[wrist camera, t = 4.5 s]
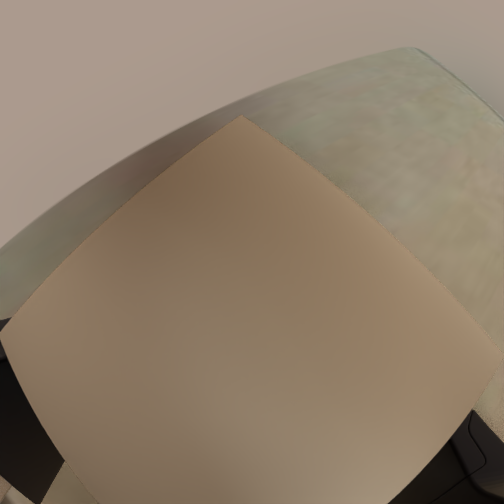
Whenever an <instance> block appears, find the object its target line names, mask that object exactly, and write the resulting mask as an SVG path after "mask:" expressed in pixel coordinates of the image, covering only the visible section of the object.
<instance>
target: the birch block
mask: <svg viewBox="0 0 504 504" xmlns="http://www.w3.org/2000/svg"><path fill="white" fill-rule="evenodd" d="M0 340H1V343H2V345H3V348H4V350H5V353H6V355H7V357H8V360H9V362H10V364H11V366H12V369H13V371H14V373H15V375H16V377H17V379H18V381H19V384H20V386H21V388H22V390H23V392H24V394H25V395H26V397H27V399H28V401H29V403H30V405H31V407H32V409H33V410H34V412H35V414H36V416H37V417H38V419H39V421H40V423H41V424H42V426H43V428H44V429H45V431H46V432H47V434H48V436H49V437H50V439H51V440H52V442H53V444H54V445H55V447H56V448H57V450H58V451H59V453H60V454H61V455H62V457H63V458H64V460H65V461H66V463H67V464H68V465H69V467H70V468H71V470H72V471H73V472H74V474H75V475H76V476H77V478H78V479H79V480H80V481H81V483H82V484H83V485H84V486H85V488H86V489H87V490H88V491H89V493H90V494H91V495H92V496H93V497H94V499H95V500H96V501H97V502H98V503H99V504H388V503H389V502H390V501H391V500H392V499H393V498H394V497H395V496H396V495H397V494H399V493H400V492H401V491H402V490H403V489H404V488H405V487H406V486H407V485H408V484H409V483H410V482H411V481H412V480H413V479H414V478H415V477H416V476H417V475H418V474H419V473H420V472H421V471H422V469H423V468H424V467H425V466H426V465H427V464H428V463H429V462H430V461H431V460H432V458H433V457H434V456H435V455H436V454H437V453H438V452H439V450H440V449H441V448H442V447H443V446H444V445H445V443H446V442H447V441H448V440H449V438H450V437H451V436H452V435H453V433H454V432H455V431H456V430H457V428H458V427H459V426H460V424H461V423H462V422H463V420H464V419H465V418H466V416H467V415H468V414H469V412H470V411H471V409H472V408H473V407H474V405H475V404H476V402H477V401H478V399H479V398H480V396H481V395H482V393H483V392H484V390H485V389H486V387H487V385H488V384H489V382H490V381H491V379H492V377H493V376H494V374H495V372H496V371H497V369H498V367H499V366H500V364H501V362H502V360H503V359H504V354H503V353H502V351H501V350H500V349H499V348H498V347H497V345H496V344H495V343H494V342H493V340H492V339H491V338H490V337H489V336H488V334H487V333H486V332H485V331H484V330H483V328H482V327H481V326H480V325H479V324H478V323H477V322H476V320H475V319H474V318H473V317H472V316H471V315H470V314H469V312H468V311H467V310H466V309H465V308H464V307H463V306H462V305H461V304H460V302H459V301H458V300H457V299H456V298H455V297H454V296H453V295H452V294H451V293H450V292H449V291H448V290H447V288H446V287H445V286H444V285H443V284H442V283H441V282H440V281H439V280H438V279H437V278H436V277H435V276H434V275H433V274H432V273H431V272H430V271H429V270H428V269H427V268H426V267H425V266H424V265H423V264H422V263H421V262H420V261H419V260H418V259H417V258H416V257H415V256H414V255H413V254H412V253H411V252H410V251H409V250H408V249H407V248H406V247H405V246H404V245H403V244H401V243H400V242H399V241H398V240H397V239H396V238H395V237H394V236H393V235H392V234H391V233H390V232H389V231H388V230H386V229H385V228H384V227H383V226H382V225H381V224H380V223H379V222H378V221H377V220H375V219H374V218H373V217H372V216H371V215H370V214H369V213H368V212H366V211H365V210H364V209H363V208H362V207H361V206H359V205H358V204H357V203H356V202H355V201H354V200H352V199H351V198H350V197H349V196H348V195H347V194H345V193H344V192H343V191H342V190H341V189H339V188H338V187H337V186H336V185H335V184H333V183H332V182H331V181H330V180H328V179H327V178H326V177H325V176H323V175H322V174H321V173H320V172H318V171H317V170H316V169H315V168H313V167H312V166H311V165H310V164H308V163H307V162H306V161H304V160H303V159H302V158H301V157H299V156H298V155H297V154H295V153H294V152H293V151H291V150H290V149H289V148H287V147H286V146H285V145H283V144H282V143H281V142H279V141H278V140H277V139H275V138H274V137H272V136H271V135H270V134H268V133H267V132H266V131H264V130H263V129H261V128H260V127H258V126H257V125H256V124H254V123H253V122H251V121H250V120H248V119H247V118H246V117H244V116H243V115H240V116H238V117H237V118H235V119H234V120H232V121H231V122H230V123H228V124H227V125H225V126H224V127H222V128H221V129H219V130H218V131H217V132H215V133H214V134H212V135H211V136H210V137H208V138H207V139H205V140H204V141H203V142H201V143H200V144H199V145H197V146H196V147H194V148H193V149H192V150H190V151H189V152H188V153H186V154H185V155H184V156H182V157H181V158H180V159H179V160H177V161H176V162H175V163H173V164H172V165H171V166H170V167H168V168H167V169H166V170H164V171H163V172H162V173H161V174H159V175H158V176H157V177H156V178H155V179H153V180H152V181H151V182H150V183H148V184H147V185H146V186H145V187H144V188H142V189H141V190H140V191H139V192H138V193H136V194H135V195H134V196H133V197H132V198H131V199H129V200H128V201H127V202H126V203H125V204H124V205H122V206H121V207H120V208H119V209H118V210H117V211H116V212H115V213H113V214H112V215H111V216H110V217H109V218H108V219H107V220H106V221H105V222H103V223H102V224H101V225H100V226H99V227H98V228H97V229H96V230H95V231H94V232H93V233H92V234H91V235H89V236H88V237H87V238H86V239H85V240H84V241H83V242H82V243H81V244H80V245H79V246H78V247H77V248H76V249H75V250H74V251H73V252H72V253H71V254H70V255H69V256H68V257H67V258H66V259H65V260H64V261H63V262H62V263H61V264H60V265H59V266H58V267H57V268H56V269H55V270H54V271H53V272H52V273H51V274H50V275H49V277H48V278H47V279H46V280H45V281H44V282H43V283H42V284H41V285H40V286H39V287H38V288H37V289H36V291H35V292H34V293H33V294H32V295H31V296H30V297H29V298H28V300H27V301H26V302H25V303H24V304H23V305H22V306H21V308H20V309H19V310H18V311H17V312H16V313H15V315H14V316H13V317H12V318H11V319H10V321H9V322H8V323H7V324H6V325H5V327H4V328H3V329H2V330H1V332H0Z"/></svg>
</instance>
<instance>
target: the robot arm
mask: <svg viewBox="0 0 504 504" xmlns="http://www.w3.org/2000/svg"><path fill="white" fill-rule="evenodd" d="M11 318H12V317H11ZM11 318H7V319H4V320H0V332H1V330H2V329H3V328H4V327H5V325H6V324H7V323H8V322H9V321H10V319H11ZM64 461H65V460H64V458H63V457H62V455H61V454H60V453H59V451H58V450H57V448H56V447H55V445H54V444H53V442H52V440H51V439H50V437H49V436H48V434H47V432H46V431H45V429H44V428H43V426H42V424H41V423H40V421H39V419H38V417H37V416H36V414H35V412H34V410H33V409H32V407H31V405H30V403H29V401H28V399H27V397H26V395H25V394H24V392H23V390H22V388H21V386H20V384H19V381H18V379H17V377H16V375H15V373H14V371H13V369H12V366H11V364H10V362H9V360H8V357H7V355H6V353H5V350H4V348H3V345H2V343H1V340H0V503H1V501H2V500H3V498H4V497H5V495H6V494H7V492H8V491H9V490H10V488H11V487H12V486H13V487H14V488H15V489H17V490H18V491H19V492H20V493H22V494H23V495H24V496H25V497H27V498H28V499H29V500H31V501H32V502H33V503H35V504H40V503H41V502H42V500H43V498H44V496H45V495H46V493H47V491H48V489H49V488H50V486H51V484H52V482H53V480H54V479H55V477H56V475H57V473H58V472H59V470H60V468H61V467H62V465H63V463H64ZM388 504H504V443H503V442H502V441H501V440H500V438H499V437H498V436H497V435H496V434H495V433H494V432H493V431H492V430H491V429H490V428H489V427H488V426H487V424H486V423H485V422H484V421H483V420H482V419H481V418H480V416H479V415H478V414H477V413H476V412H475V410H472V409H471V411H470V412H469V414H468V415H467V416H466V418H465V419H464V420H463V422H462V423H461V424H460V426H459V427H458V428H457V430H456V431H455V432H454V433H453V435H452V436H451V437H450V438H449V440H448V441H447V442H446V443H445V445H444V446H443V447H442V448H441V449H440V450H439V452H438V453H437V454H436V455H435V456H434V457H433V458H432V460H431V461H430V462H429V463H428V464H427V465H426V466H425V467H424V468H423V469H422V471H421V472H420V473H419V474H418V475H417V476H416V477H415V478H414V479H413V480H412V481H411V482H410V483H409V484H408V485H407V486H406V487H405V488H404V489H403V490H402V491H401V492H400V493H399V494H397V495H396V496H395V497H394V498H393V499H392V500H391V501H390V502H389V503H388Z"/></svg>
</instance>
